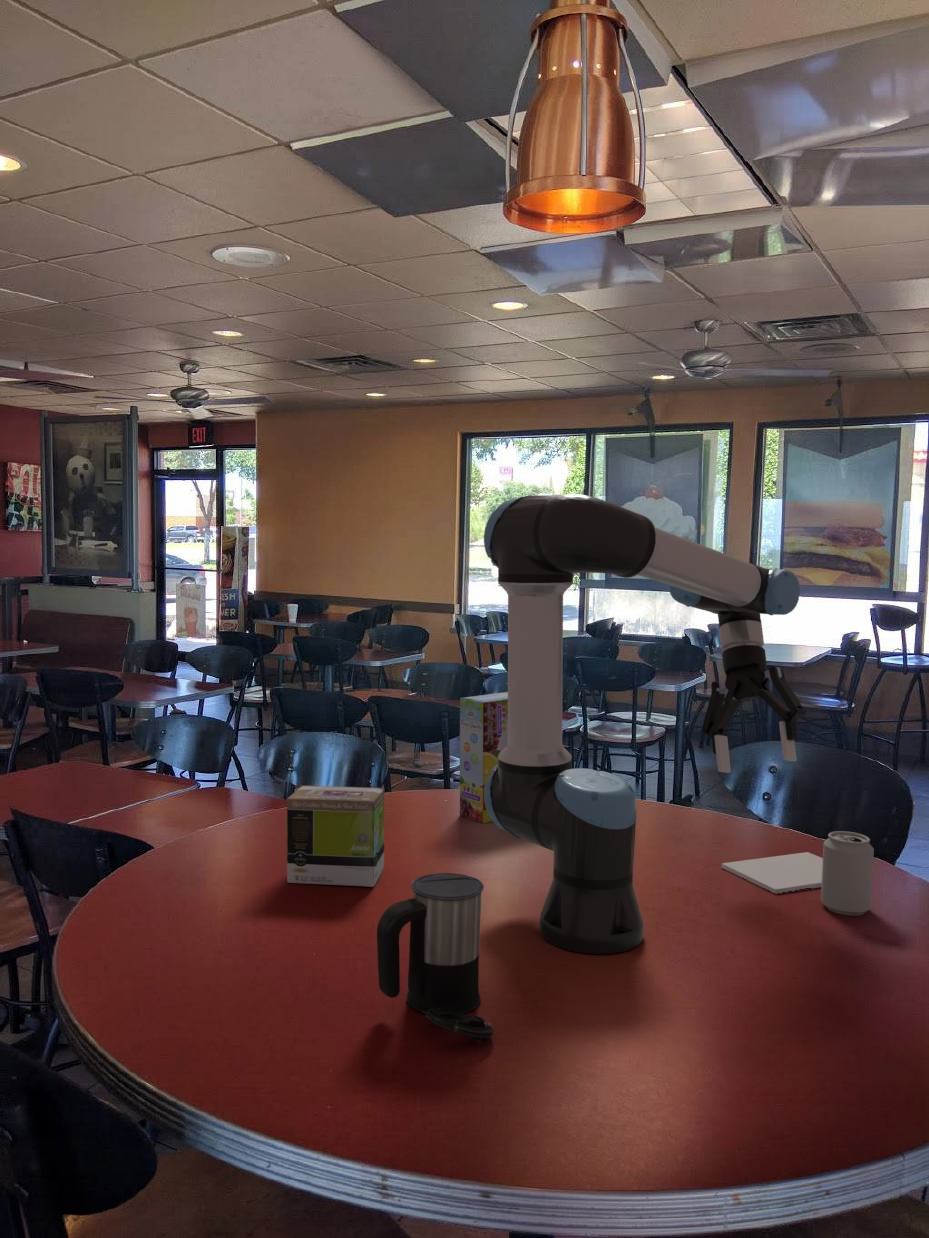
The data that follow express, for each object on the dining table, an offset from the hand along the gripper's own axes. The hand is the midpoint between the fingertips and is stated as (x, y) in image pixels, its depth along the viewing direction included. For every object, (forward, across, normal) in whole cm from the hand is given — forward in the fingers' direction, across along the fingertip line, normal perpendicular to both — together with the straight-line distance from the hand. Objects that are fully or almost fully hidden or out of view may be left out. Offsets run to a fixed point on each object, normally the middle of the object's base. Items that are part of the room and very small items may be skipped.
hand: (756, 766), depth 164 cm
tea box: (+17, +47, +56) cm, 75 cm away
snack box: (+2, +60, +6) cm, 61 cm away
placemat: (+18, +4, -12) cm, 22 cm away
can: (+24, -10, -5) cm, 27 cm away
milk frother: (+37, 0, +66) cm, 76 cm away
